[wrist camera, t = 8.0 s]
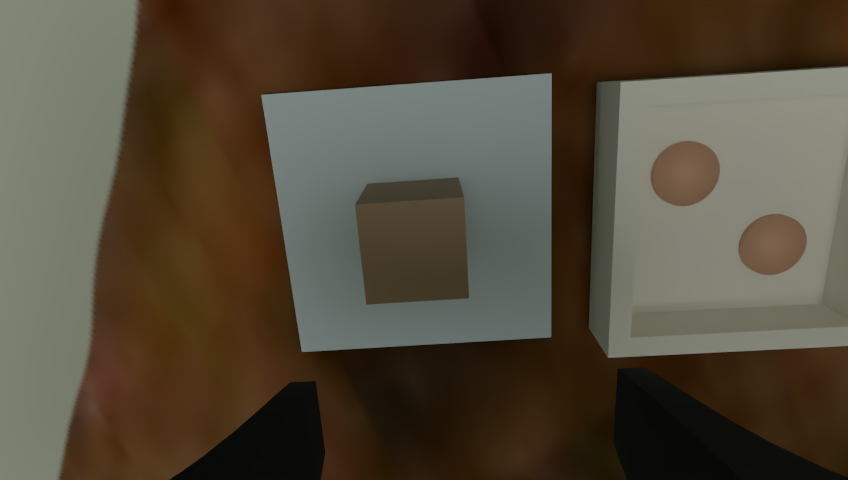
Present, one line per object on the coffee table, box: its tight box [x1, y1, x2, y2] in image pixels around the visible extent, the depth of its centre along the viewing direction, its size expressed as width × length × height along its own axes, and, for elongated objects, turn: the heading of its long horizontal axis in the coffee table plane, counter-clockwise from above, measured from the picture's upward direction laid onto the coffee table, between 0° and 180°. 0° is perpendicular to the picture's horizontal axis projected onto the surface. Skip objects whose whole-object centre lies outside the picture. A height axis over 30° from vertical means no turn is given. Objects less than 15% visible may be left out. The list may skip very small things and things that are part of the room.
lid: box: [261, 73, 552, 352], centre depth 19 cm, size 11×11×4 cm
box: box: [589, 66, 848, 358], centre depth 19 cm, size 10×10×2 cm
